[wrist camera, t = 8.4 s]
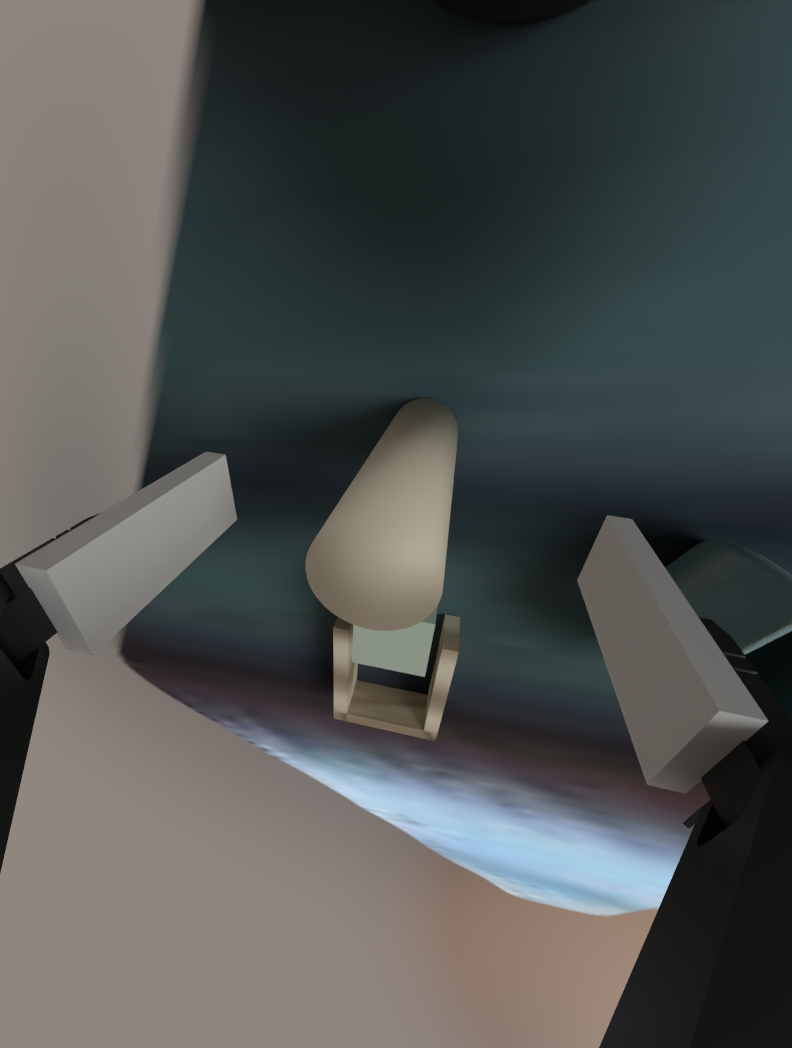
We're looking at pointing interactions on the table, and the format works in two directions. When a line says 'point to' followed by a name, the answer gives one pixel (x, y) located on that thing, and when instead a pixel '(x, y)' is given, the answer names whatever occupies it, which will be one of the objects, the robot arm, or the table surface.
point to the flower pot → (743, 605)
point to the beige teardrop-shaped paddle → (392, 541)
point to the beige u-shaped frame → (389, 703)
